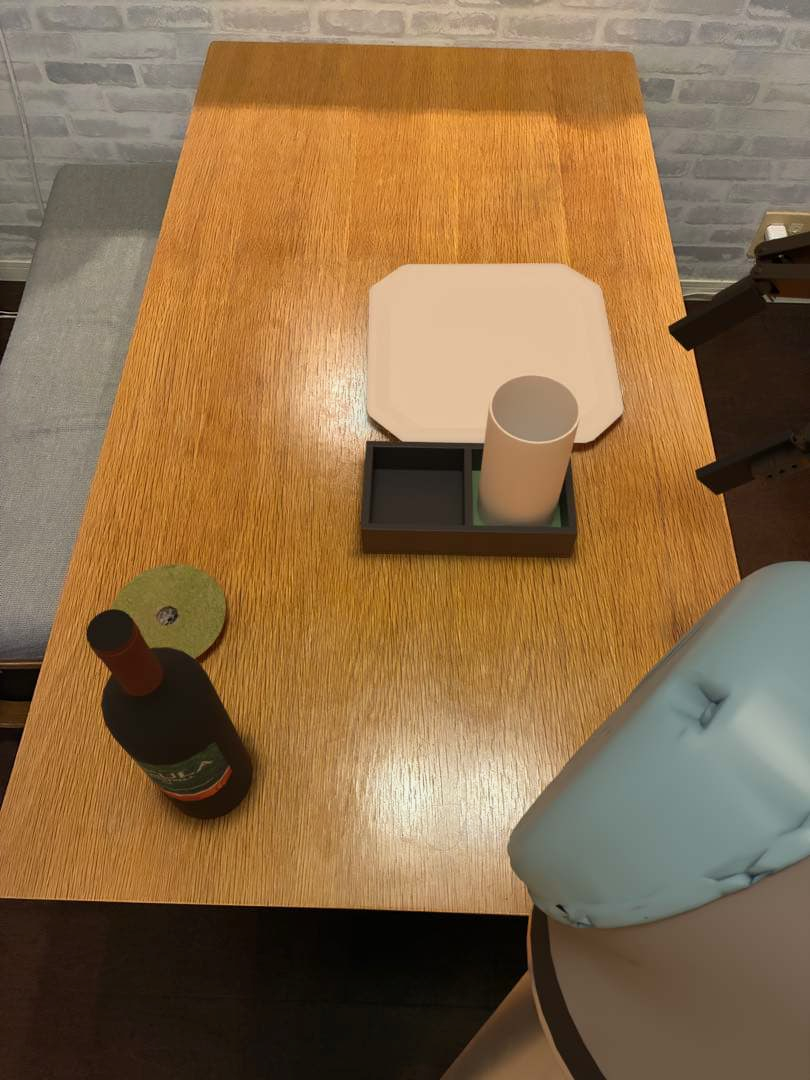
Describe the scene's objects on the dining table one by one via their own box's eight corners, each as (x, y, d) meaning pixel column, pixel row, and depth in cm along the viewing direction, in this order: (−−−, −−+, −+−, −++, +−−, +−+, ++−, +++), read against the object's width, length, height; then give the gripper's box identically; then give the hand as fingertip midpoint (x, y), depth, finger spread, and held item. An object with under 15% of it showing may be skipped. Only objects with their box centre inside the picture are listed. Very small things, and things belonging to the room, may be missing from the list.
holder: (570, 557, 87) (578, 533, 84) (362, 553, 88) (360, 529, 84) (562, 470, 93) (569, 444, 89) (367, 466, 94) (366, 440, 90)
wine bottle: (268, 755, 77) (199, 601, 51) (224, 834, 73) (126, 711, 48) (196, 721, 78) (94, 556, 53) (150, 797, 75) (17, 659, 49)
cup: (510, 554, 87) (530, 458, 73) (461, 500, 90) (470, 400, 77) (571, 514, 89) (600, 415, 76) (520, 463, 93) (539, 360, 79)
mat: (136, 565, 87) (131, 555, 85) (242, 581, 86) (239, 572, 84) (97, 666, 81) (90, 657, 80) (210, 684, 80) (206, 676, 79)
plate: (626, 453, 94) (631, 441, 93) (366, 455, 94) (365, 442, 93) (594, 274, 110) (597, 261, 108) (370, 276, 110) (369, 262, 108)
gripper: (1131, 441, 45) (746, 574, 58) (976, 151, 58) (691, 313, 71) (1099, 368, 40) (690, 531, 53) (939, 72, 53) (642, 260, 66)
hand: (690, 407), depth 62 cm, fingers open, 13 cm apart
